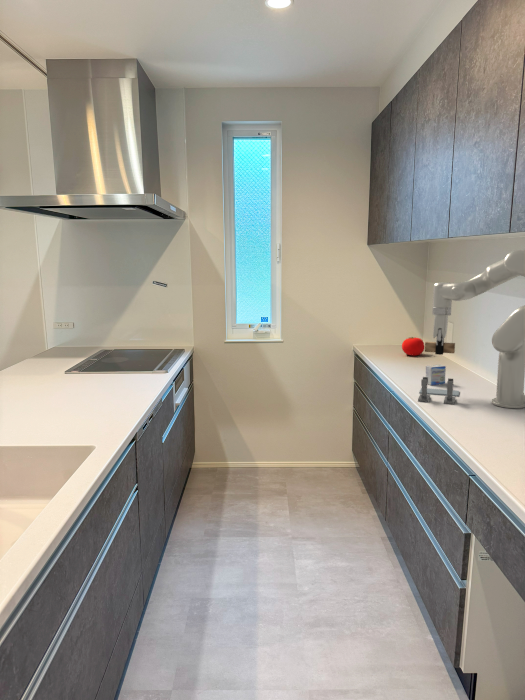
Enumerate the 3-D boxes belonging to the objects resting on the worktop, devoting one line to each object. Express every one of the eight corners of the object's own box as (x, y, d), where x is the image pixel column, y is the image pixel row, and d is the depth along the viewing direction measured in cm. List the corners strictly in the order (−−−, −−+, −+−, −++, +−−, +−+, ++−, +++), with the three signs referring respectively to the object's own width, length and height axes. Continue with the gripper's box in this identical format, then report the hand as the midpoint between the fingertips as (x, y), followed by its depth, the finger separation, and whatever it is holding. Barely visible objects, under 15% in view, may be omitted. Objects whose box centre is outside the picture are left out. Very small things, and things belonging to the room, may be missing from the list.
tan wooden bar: (454, 352, 206) (455, 343, 206) (454, 353, 204) (454, 344, 203) (425, 350, 211) (425, 341, 211) (424, 351, 209) (425, 342, 208)
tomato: (426, 356, 290) (427, 338, 288) (403, 357, 291) (404, 338, 289) (421, 353, 302) (421, 335, 300) (399, 353, 303) (399, 335, 301)
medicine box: (430, 385, 223) (431, 367, 221) (425, 383, 227) (425, 365, 226) (445, 384, 225) (446, 366, 223) (439, 382, 229) (440, 364, 228)
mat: (459, 391, 211) (459, 390, 211) (458, 396, 204) (458, 395, 203) (421, 388, 217) (421, 387, 217) (419, 393, 210) (419, 392, 210)
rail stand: (455, 399, 199) (456, 378, 198) (454, 404, 192) (455, 382, 191) (420, 396, 205) (420, 376, 204) (418, 401, 198) (418, 380, 196)
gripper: (434, 309, 213) (432, 349, 217) (430, 313, 199) (428, 356, 202) (452, 309, 210) (449, 350, 213) (450, 313, 195) (447, 357, 199)
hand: (439, 353), depth 208 cm, fingers closed on tan wooden bar, 3 cm apart
